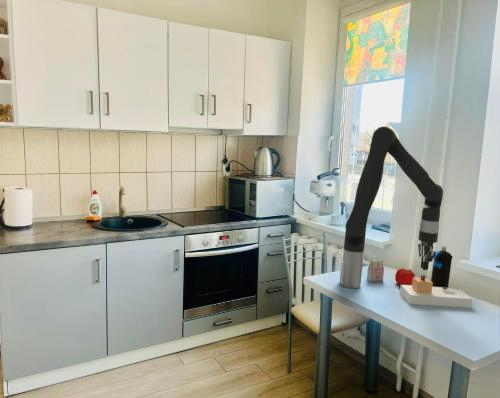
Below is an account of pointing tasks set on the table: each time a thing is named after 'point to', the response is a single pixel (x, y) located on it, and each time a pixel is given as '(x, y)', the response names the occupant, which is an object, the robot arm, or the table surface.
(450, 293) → the block
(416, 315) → the table surface
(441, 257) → the aerosol can
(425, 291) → the plug
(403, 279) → the tomato
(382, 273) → the small beige carton
